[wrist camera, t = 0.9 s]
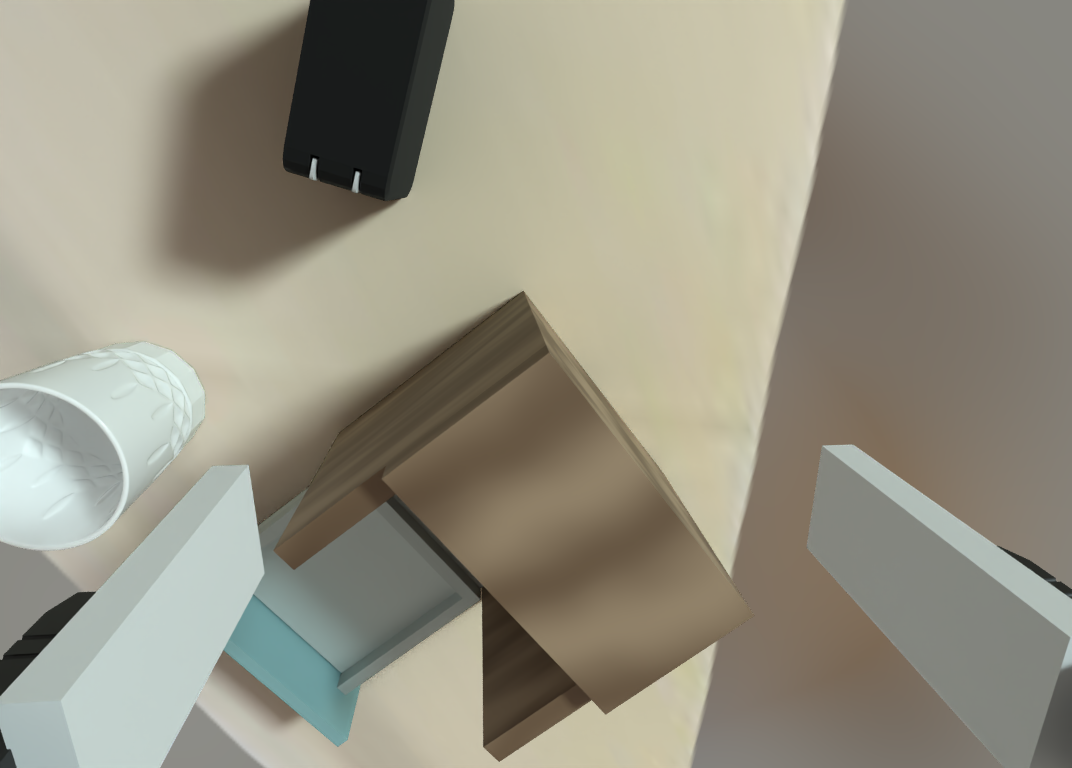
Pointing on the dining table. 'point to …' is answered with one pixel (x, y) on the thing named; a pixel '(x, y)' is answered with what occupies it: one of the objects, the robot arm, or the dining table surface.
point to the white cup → (90, 440)
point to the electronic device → (365, 92)
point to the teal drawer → (346, 610)
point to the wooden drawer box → (533, 523)
